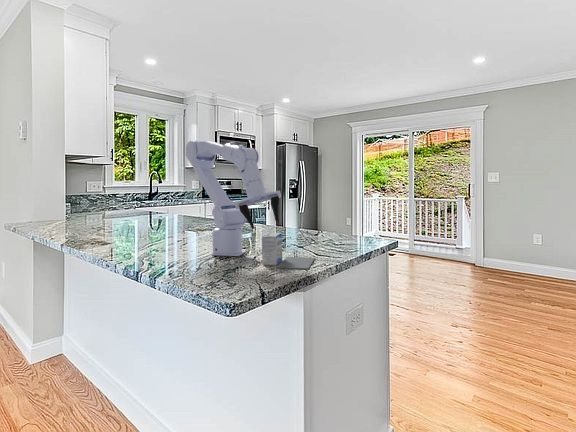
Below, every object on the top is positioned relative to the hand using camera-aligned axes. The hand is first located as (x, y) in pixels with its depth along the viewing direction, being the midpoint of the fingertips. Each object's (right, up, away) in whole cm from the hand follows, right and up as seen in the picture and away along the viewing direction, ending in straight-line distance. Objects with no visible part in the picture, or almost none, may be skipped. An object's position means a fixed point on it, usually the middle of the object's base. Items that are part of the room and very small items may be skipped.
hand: (265, 225), depth 112 cm
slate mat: (+10, -11, -2) cm, 15 cm away
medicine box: (+2, -12, 0) cm, 12 cm away
